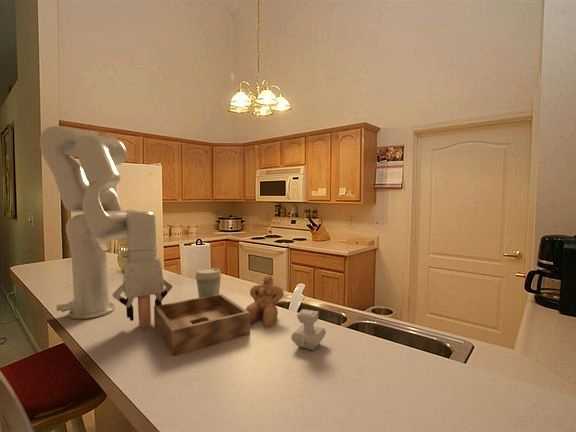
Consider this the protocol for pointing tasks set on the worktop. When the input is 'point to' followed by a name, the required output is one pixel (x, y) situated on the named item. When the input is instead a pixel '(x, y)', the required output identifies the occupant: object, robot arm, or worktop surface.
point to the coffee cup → (208, 281)
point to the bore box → (200, 322)
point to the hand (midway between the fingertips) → (144, 316)
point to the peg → (144, 311)
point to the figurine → (265, 301)
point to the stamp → (308, 330)
